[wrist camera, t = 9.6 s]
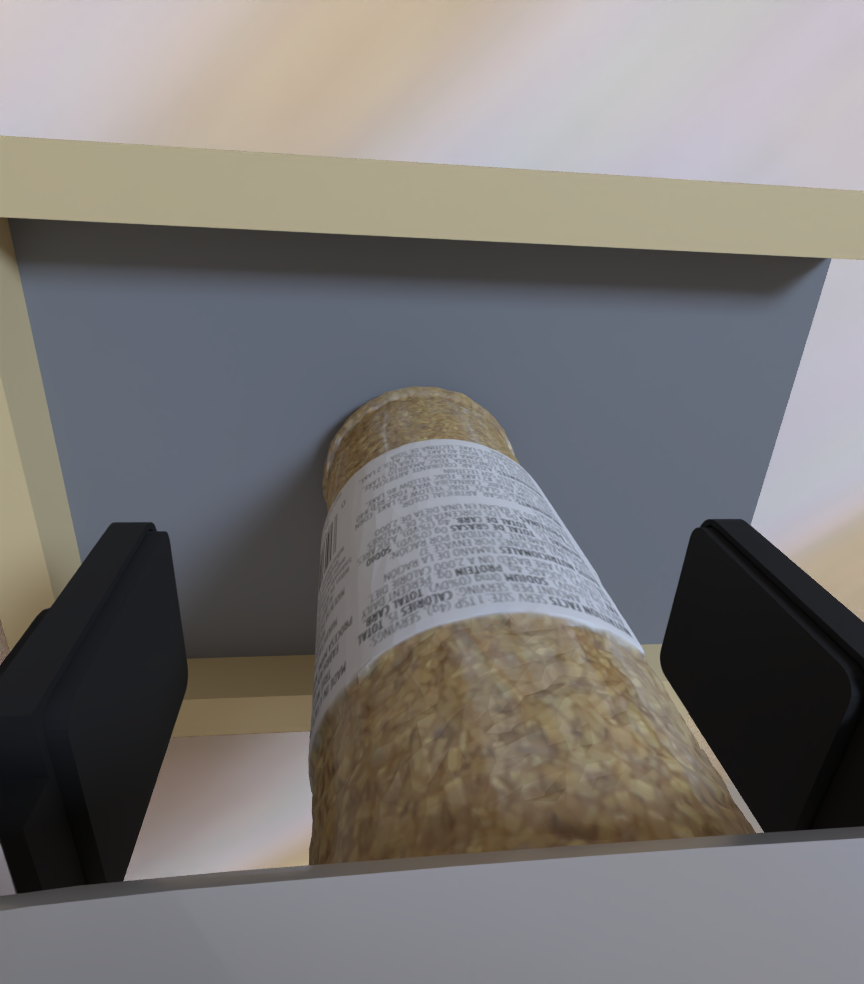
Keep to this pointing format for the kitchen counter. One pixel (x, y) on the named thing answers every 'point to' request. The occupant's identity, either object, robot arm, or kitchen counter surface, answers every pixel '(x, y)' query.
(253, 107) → the kitchen counter surface
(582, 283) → the tray
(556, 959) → the robot arm
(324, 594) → the sprinkles bottle
